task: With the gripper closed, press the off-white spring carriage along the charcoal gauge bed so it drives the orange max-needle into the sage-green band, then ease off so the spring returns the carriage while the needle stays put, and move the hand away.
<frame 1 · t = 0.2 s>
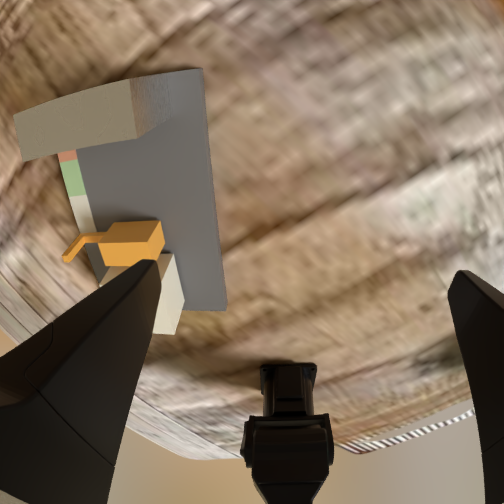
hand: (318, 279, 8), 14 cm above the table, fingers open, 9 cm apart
needle rider: (111, 245, 22), point 3 cm above the table, slide at 0.0 cm
spring carriage: (144, 293, 24), point 3 cm above the table, slide at 0.0 cm
gauge bed: (141, 206, 24), on the table
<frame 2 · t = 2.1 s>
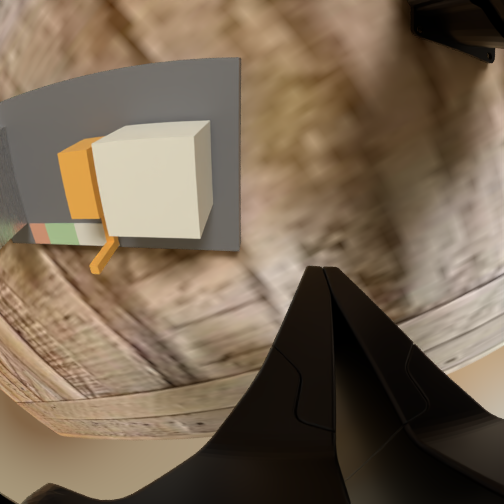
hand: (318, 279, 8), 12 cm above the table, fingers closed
needle rider: (93, 205, 17), point 3 cm above the table, slide at 0.0 cm
spring carriage: (158, 176, 15), point 4 cm above the table, slide at 0.0 cm
gauge bed: (93, 161, 18), on the table
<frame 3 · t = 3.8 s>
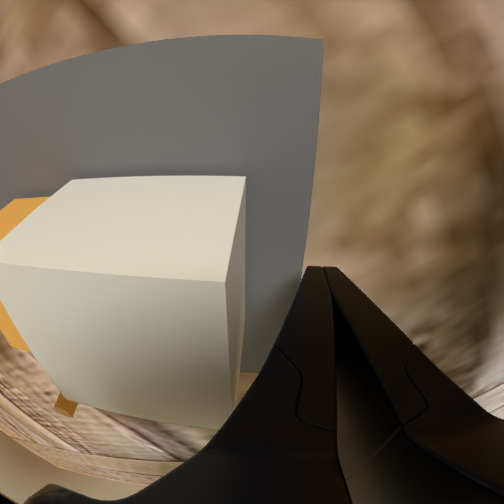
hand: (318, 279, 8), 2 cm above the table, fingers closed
needle rider: (42, 321, 9), point 3 cm above the table, slide at 0.0 cm
spring carriage: (138, 302, 7), point 3 cm above the table, slide at 0.2 cm, touching gripper
gauge bed: (42, 227, 10), on the table
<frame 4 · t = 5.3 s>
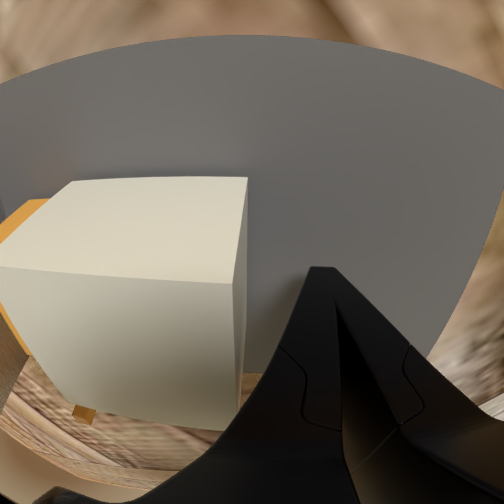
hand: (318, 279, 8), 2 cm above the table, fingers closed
needle rider: (60, 327, 9), point 3 cm above the table, slide at 5.6 cm, touching spring carriage
spring carriage: (140, 304, 7), point 3 cm above the table, slide at 6.6 cm, touching gripper, needle rider
gauge bed: (192, 232, 10), on the table
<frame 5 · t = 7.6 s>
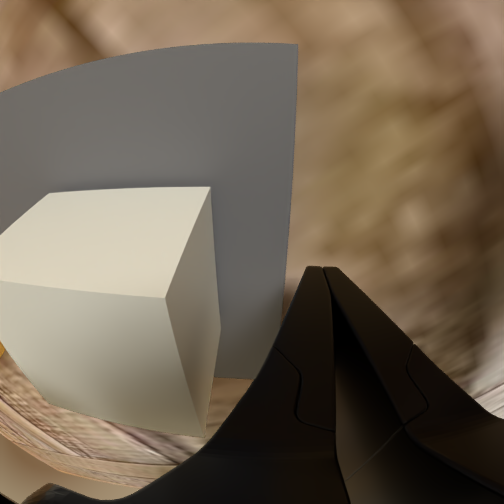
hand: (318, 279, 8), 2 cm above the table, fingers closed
spring carriage: (110, 311, 7), point 3 cm above the table, slide at 0.5 cm
gauge bed: (33, 237, 10), on the table
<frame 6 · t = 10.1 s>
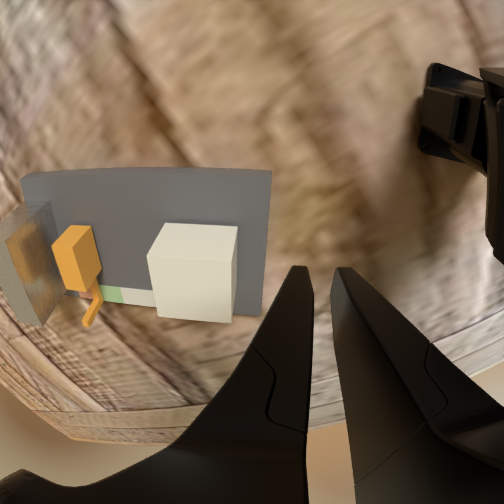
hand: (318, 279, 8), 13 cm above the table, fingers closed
needle rider: (82, 278, 22), point 3 cm above the table, slide at 5.7 cm
spring carriage: (196, 272, 21), point 3 cm above the table, slide at 0.5 cm
gauge bed: (138, 239, 24), on the table
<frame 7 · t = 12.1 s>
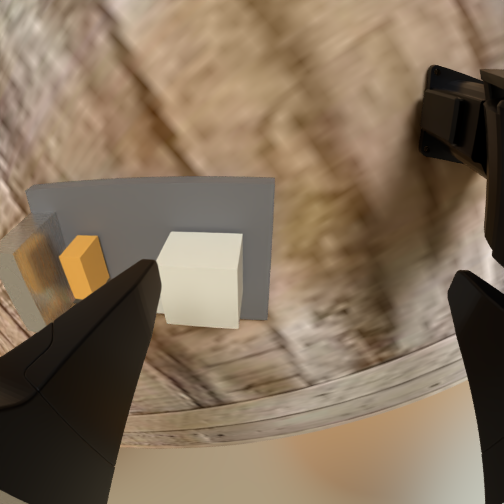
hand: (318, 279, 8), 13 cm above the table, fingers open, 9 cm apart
needle rider: (90, 287, 22), point 3 cm above the table, slide at 5.7 cm
spring carriage: (203, 279, 21), point 4 cm above the table, slide at 0.5 cm
gauge bed: (144, 248, 24), on the table
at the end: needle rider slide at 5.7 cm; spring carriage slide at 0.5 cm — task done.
